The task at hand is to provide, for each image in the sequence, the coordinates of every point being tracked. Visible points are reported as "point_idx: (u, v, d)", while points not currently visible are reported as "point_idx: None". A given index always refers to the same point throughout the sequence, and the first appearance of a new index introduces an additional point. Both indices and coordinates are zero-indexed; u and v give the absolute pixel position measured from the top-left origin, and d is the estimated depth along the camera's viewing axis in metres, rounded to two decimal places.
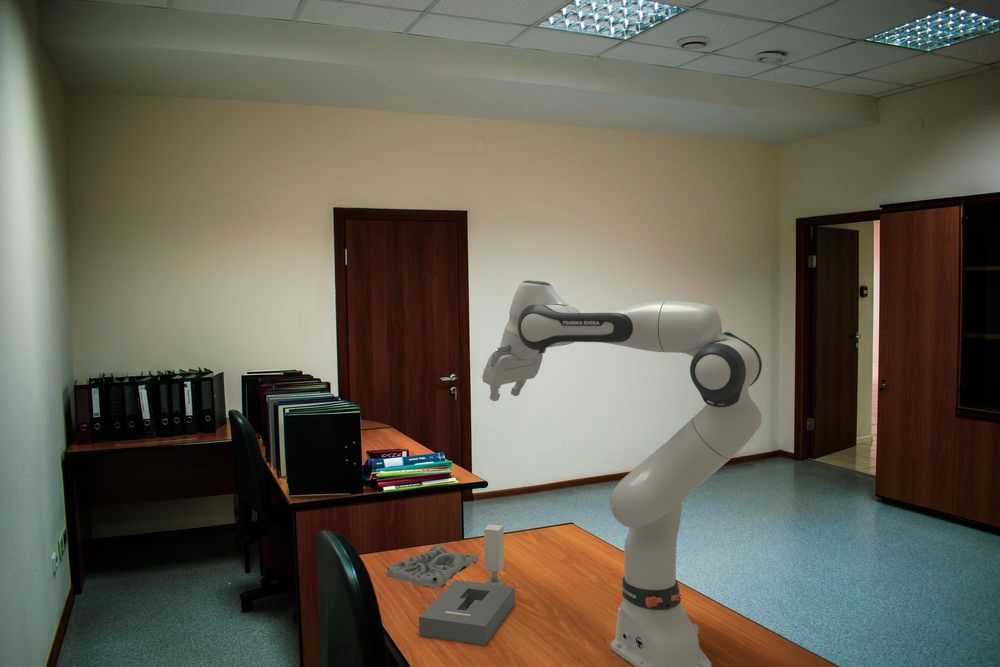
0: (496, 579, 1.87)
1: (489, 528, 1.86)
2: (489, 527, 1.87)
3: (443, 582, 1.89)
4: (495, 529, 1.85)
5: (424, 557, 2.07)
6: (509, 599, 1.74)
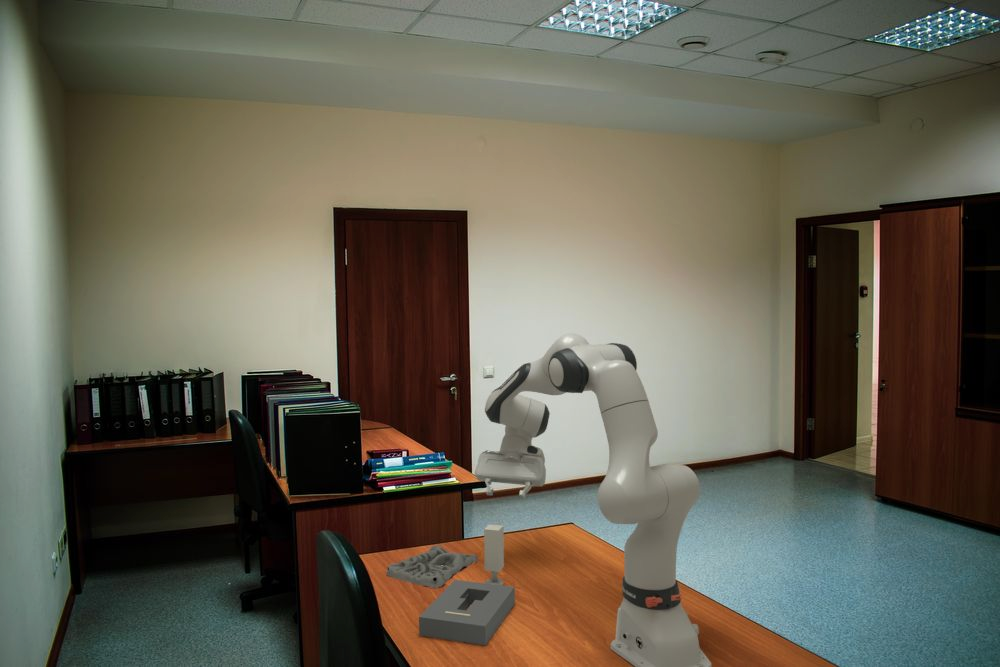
0: (496, 579, 1.87)
1: (489, 528, 1.86)
2: (489, 527, 1.87)
3: (443, 582, 1.89)
4: (495, 529, 1.85)
5: (424, 557, 2.07)
6: (509, 599, 1.74)
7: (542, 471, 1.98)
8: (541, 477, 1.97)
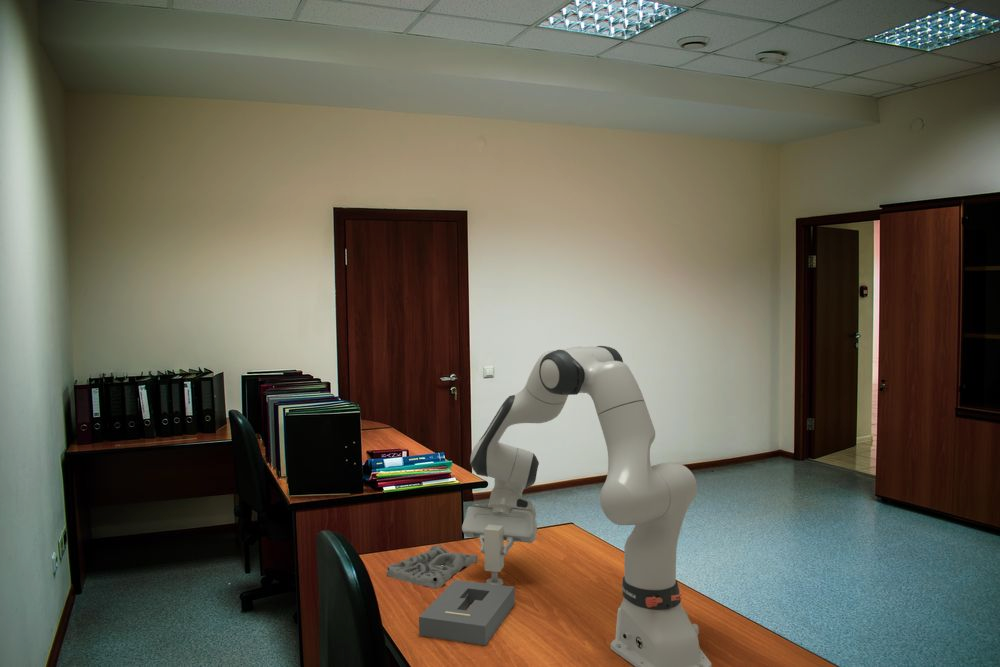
0: (496, 579, 1.87)
1: (489, 528, 1.86)
2: (489, 527, 1.87)
3: (443, 582, 1.89)
4: (495, 529, 1.85)
5: (424, 557, 2.07)
6: (509, 599, 1.74)
7: (532, 526, 1.87)
8: (531, 533, 1.86)
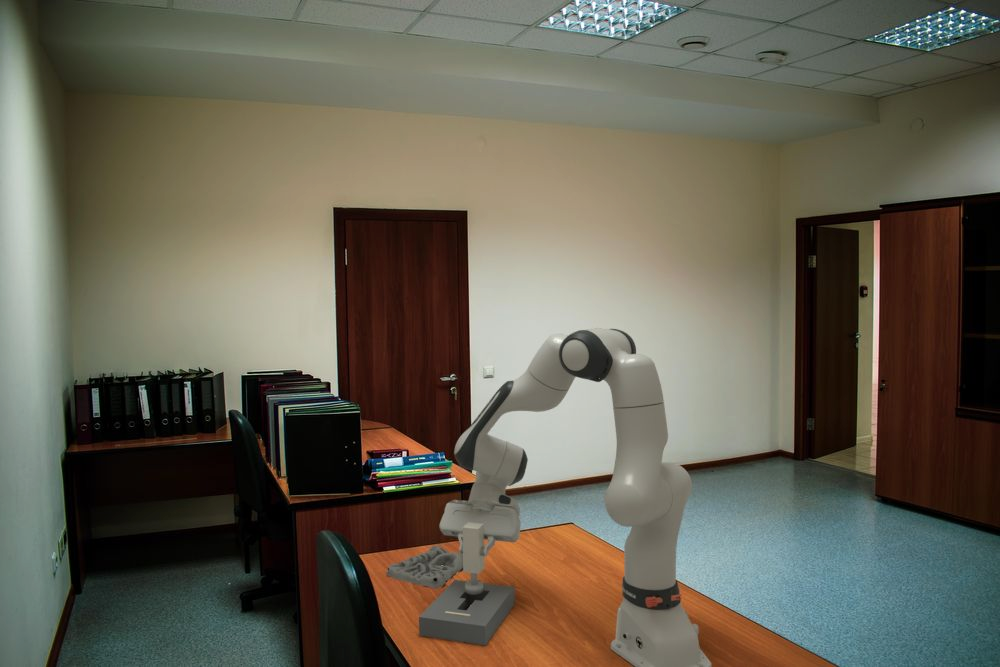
0: (475, 581, 1.73)
1: (468, 526, 1.71)
2: (468, 525, 1.73)
3: (443, 582, 1.89)
4: (474, 527, 1.71)
5: (424, 557, 2.07)
6: (509, 599, 1.74)
7: (515, 525, 1.72)
8: (514, 532, 1.71)
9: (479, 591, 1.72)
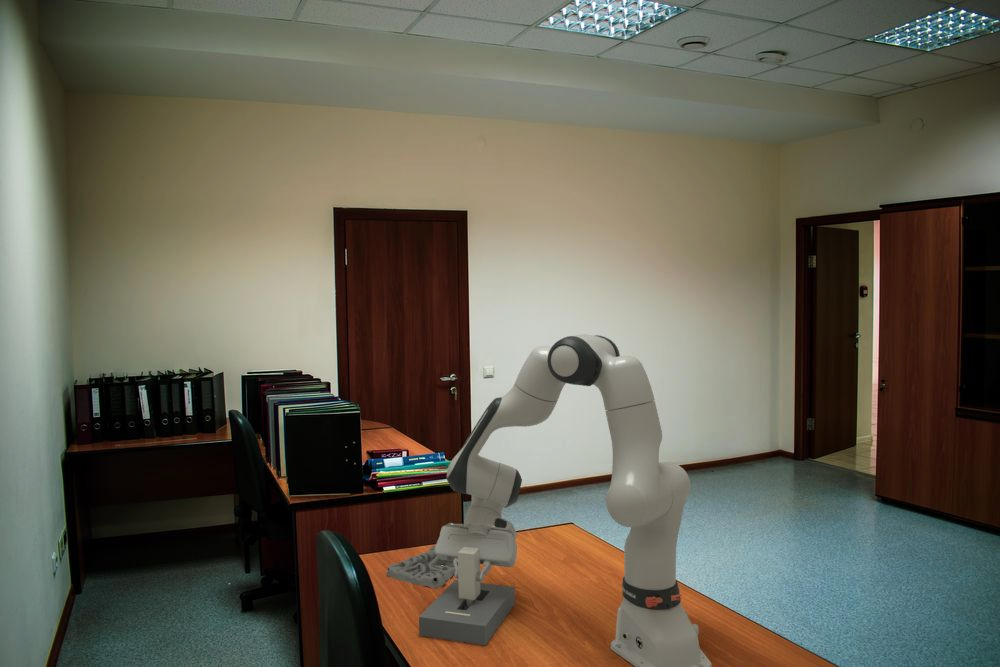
0: None
1: (463, 551, 1.68)
2: (464, 549, 1.69)
3: (444, 582, 1.89)
4: (470, 552, 1.67)
5: (424, 557, 2.07)
6: (509, 599, 1.74)
7: (511, 549, 1.69)
8: (510, 557, 1.68)
9: None
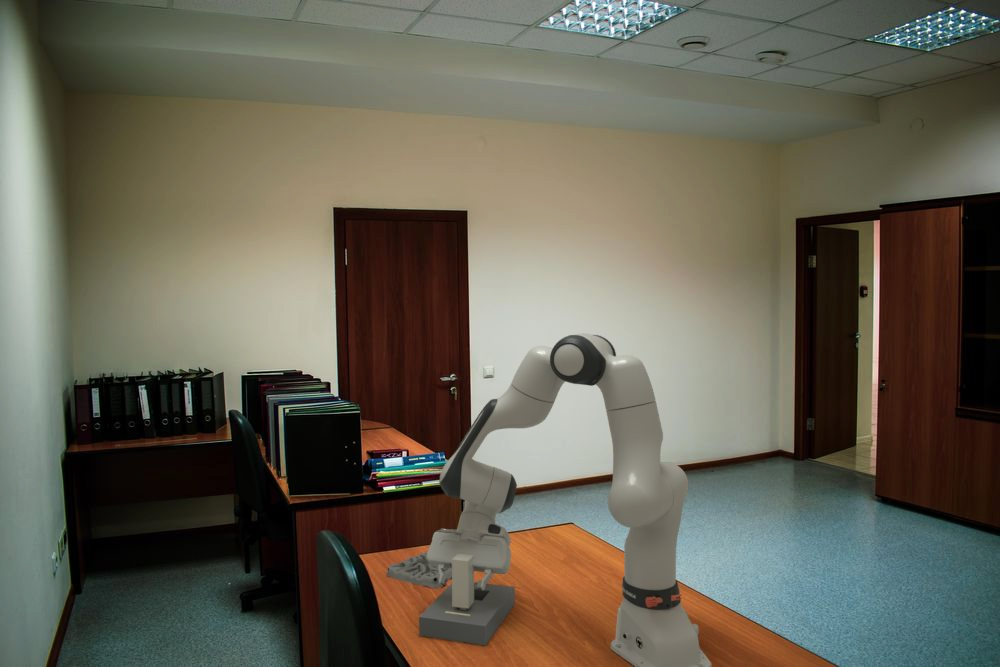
0: None
1: (457, 558, 1.65)
2: (458, 556, 1.66)
3: None
4: (464, 559, 1.64)
5: (424, 557, 2.06)
6: (509, 599, 1.74)
7: (505, 556, 1.65)
8: (503, 564, 1.64)
9: None
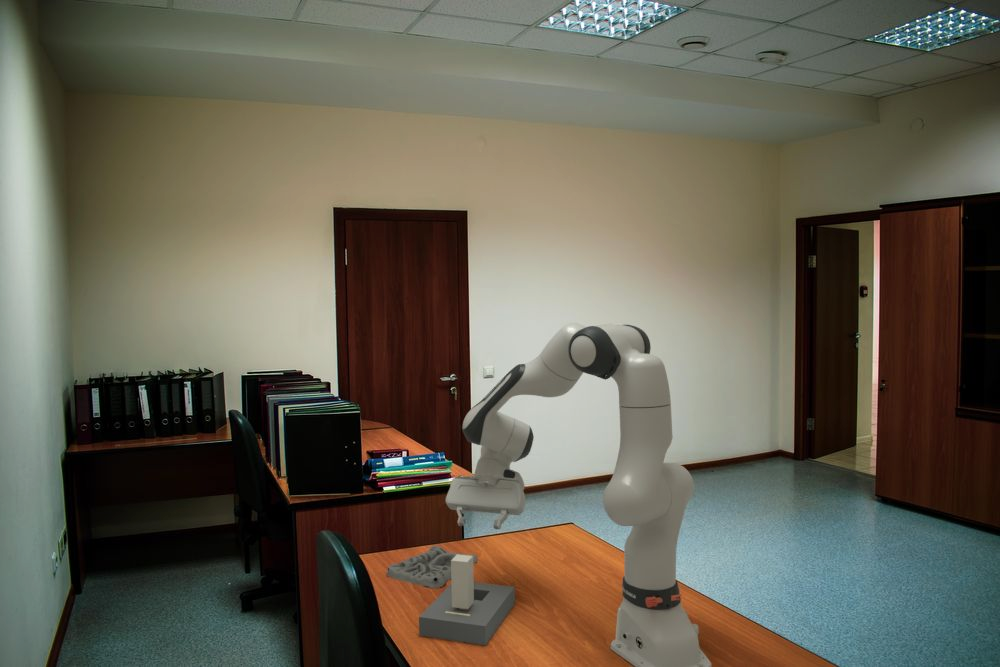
0: None
1: (457, 559, 1.64)
2: (457, 557, 1.66)
3: (444, 582, 1.89)
4: (463, 560, 1.64)
5: (424, 557, 2.06)
6: (509, 599, 1.74)
7: (520, 498, 1.76)
8: (518, 505, 1.75)
9: None
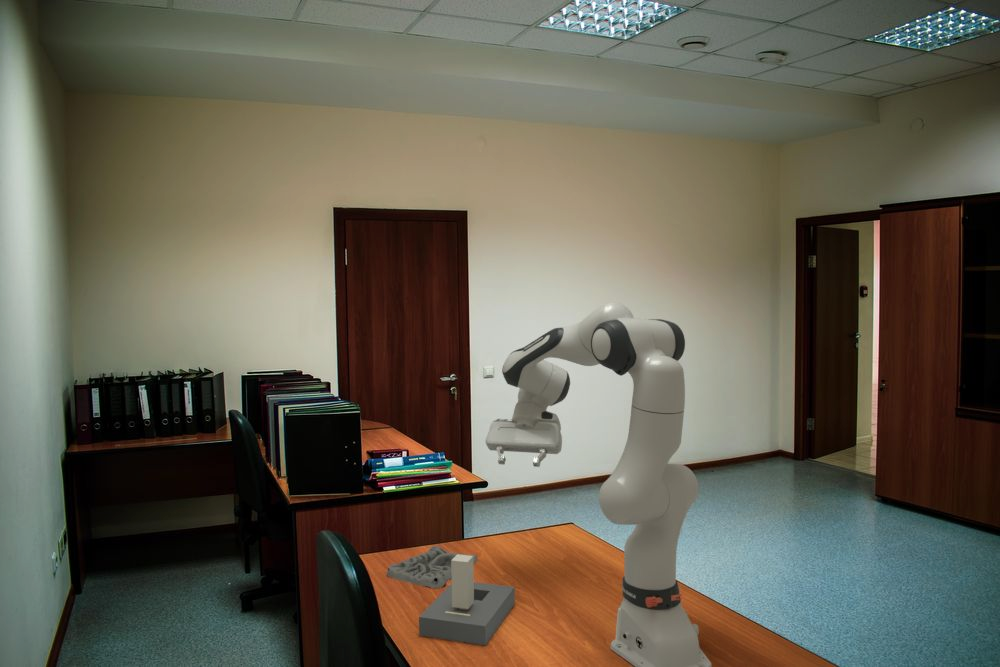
0: None
1: (457, 559, 1.64)
2: (457, 557, 1.66)
3: (444, 582, 1.89)
4: (464, 560, 1.64)
5: (424, 558, 2.06)
6: (509, 599, 1.74)
7: (558, 437, 1.84)
8: (557, 443, 1.83)
9: None
